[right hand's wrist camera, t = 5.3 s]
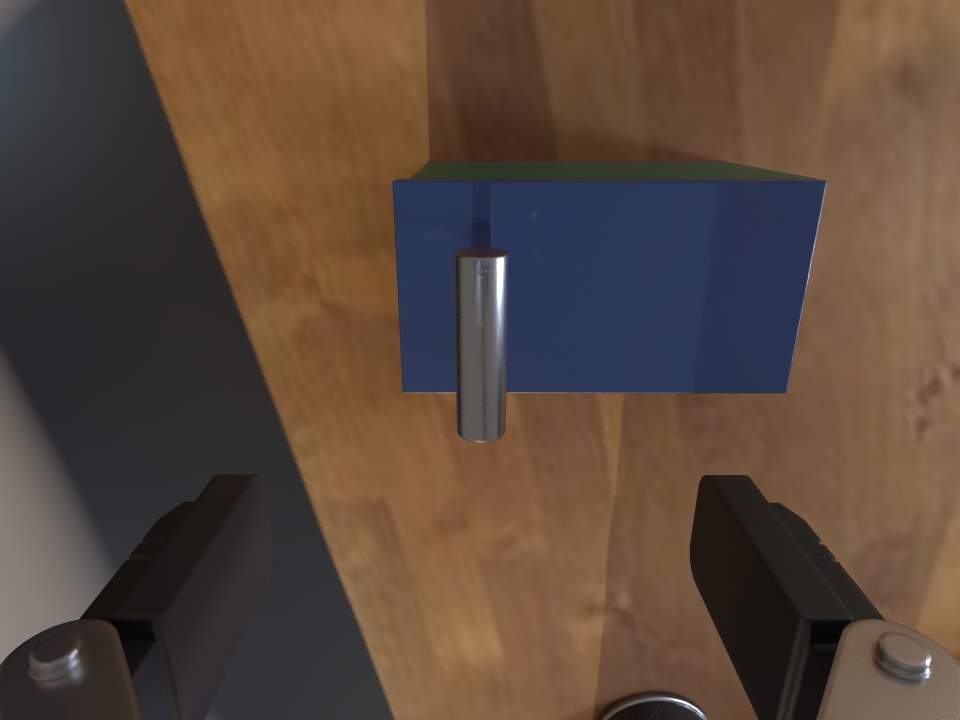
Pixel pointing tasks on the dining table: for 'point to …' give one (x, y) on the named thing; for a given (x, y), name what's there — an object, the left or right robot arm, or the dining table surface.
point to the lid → (599, 287)
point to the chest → (595, 170)
